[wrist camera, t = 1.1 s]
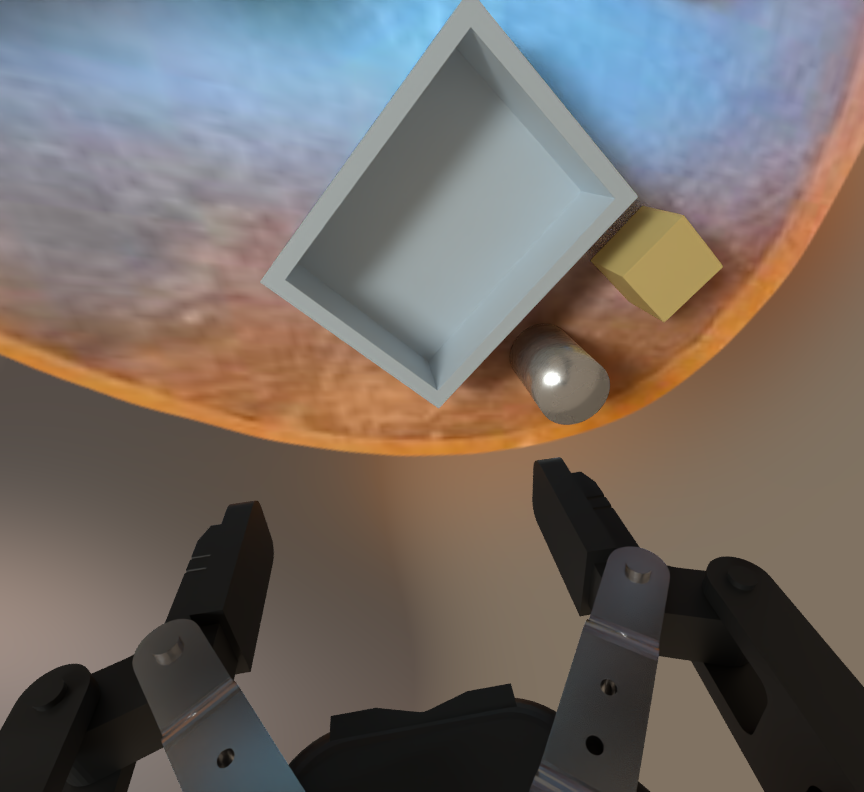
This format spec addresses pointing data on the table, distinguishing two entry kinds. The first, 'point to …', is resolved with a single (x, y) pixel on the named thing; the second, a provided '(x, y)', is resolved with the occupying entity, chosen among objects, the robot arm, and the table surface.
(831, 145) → the table surface
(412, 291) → the tote
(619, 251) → the ochre cube
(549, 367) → the metal cylinder
